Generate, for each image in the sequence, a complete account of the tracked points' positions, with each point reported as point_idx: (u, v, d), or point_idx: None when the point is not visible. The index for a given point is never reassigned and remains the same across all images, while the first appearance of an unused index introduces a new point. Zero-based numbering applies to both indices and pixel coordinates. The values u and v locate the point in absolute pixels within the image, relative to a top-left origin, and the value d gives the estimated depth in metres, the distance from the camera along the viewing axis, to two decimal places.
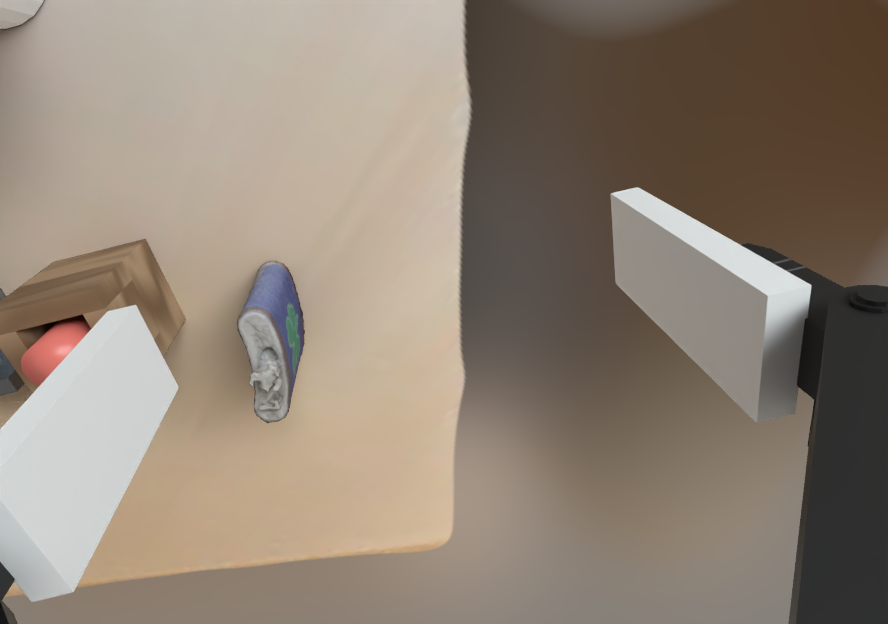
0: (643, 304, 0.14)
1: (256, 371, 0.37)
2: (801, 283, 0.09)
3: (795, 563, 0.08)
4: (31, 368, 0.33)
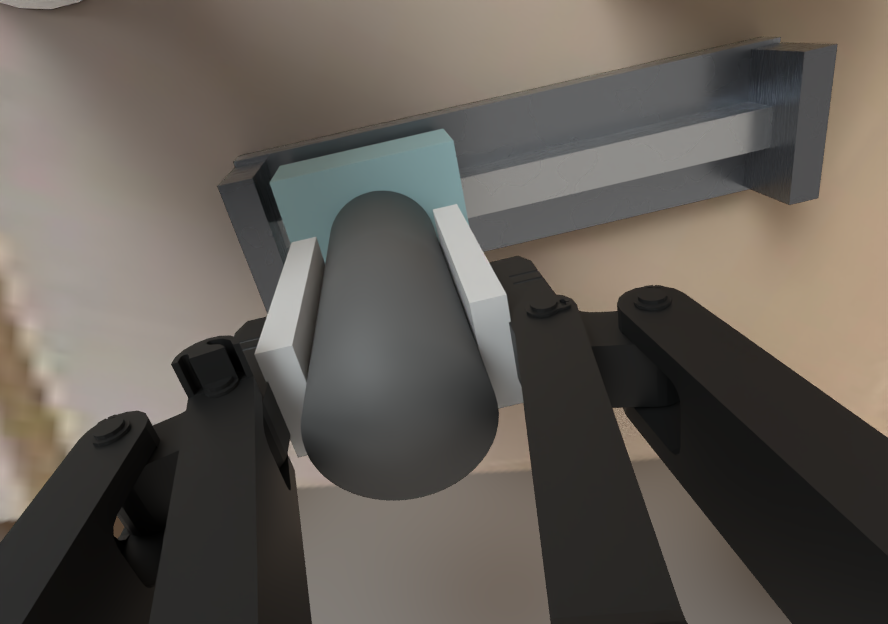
0: None
1: None
2: (500, 292, 0.11)
3: None
4: None
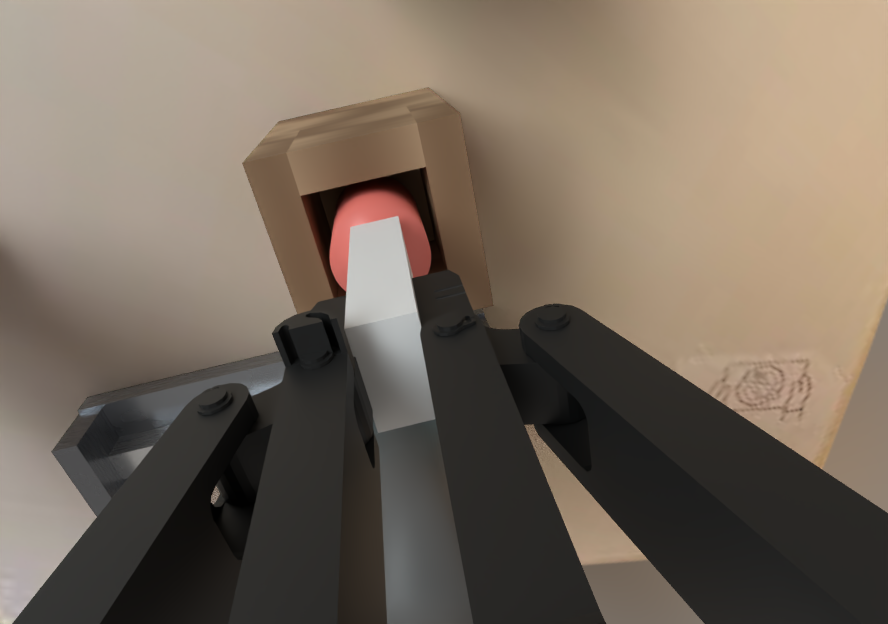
0: None
1: None
2: (412, 309, 0.11)
3: None
4: None
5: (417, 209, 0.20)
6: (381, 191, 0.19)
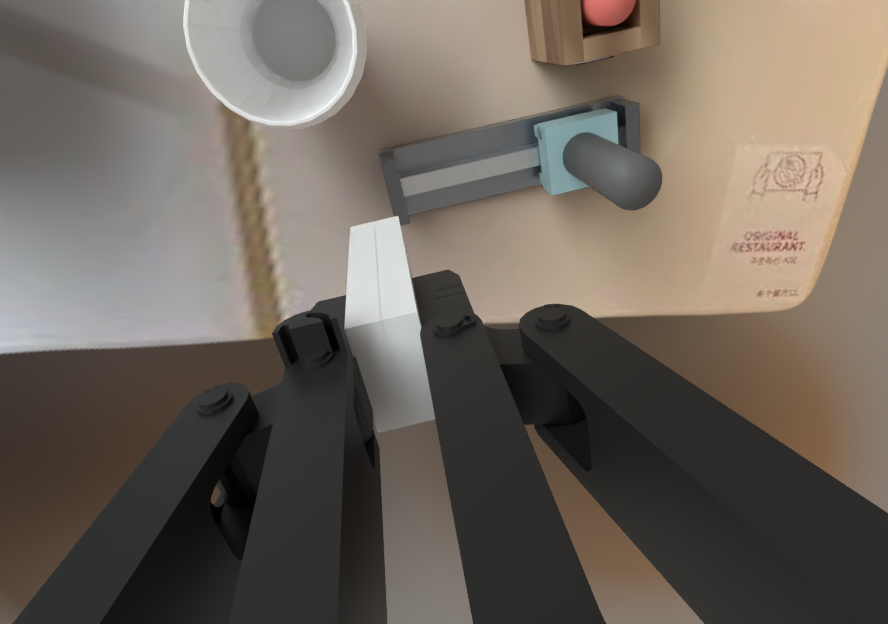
0: None
1: None
2: (412, 309, 0.11)
3: None
4: (609, 16, 0.38)
5: None
6: None
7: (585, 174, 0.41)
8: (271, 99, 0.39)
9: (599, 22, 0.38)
